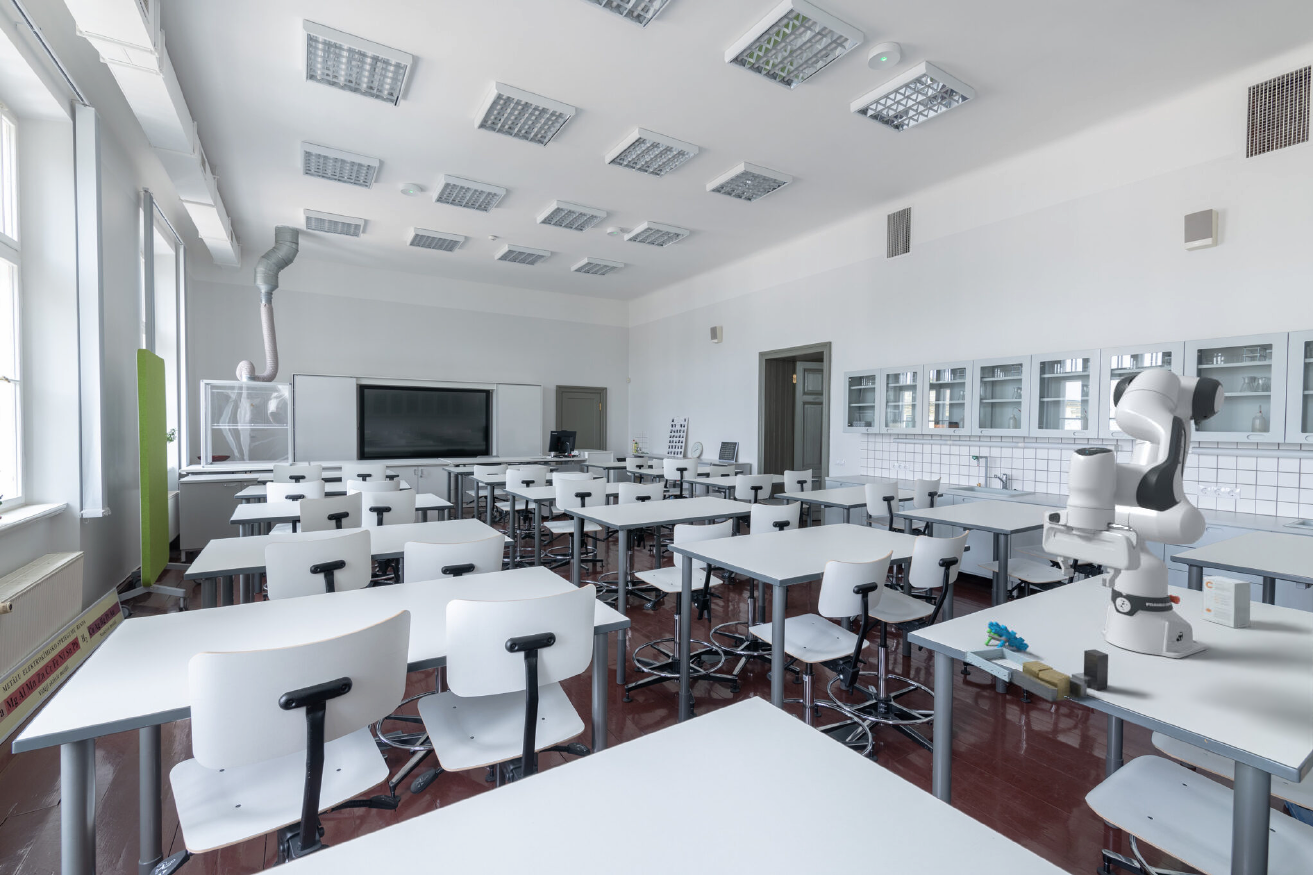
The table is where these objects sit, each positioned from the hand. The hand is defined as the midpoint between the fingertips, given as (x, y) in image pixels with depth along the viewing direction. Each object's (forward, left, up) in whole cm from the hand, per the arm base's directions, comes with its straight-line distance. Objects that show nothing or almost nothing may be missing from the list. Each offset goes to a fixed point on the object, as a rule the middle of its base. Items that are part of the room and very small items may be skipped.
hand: (1087, 581), depth 131 cm
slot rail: (+11, +1, -23) cm, 26 cm away
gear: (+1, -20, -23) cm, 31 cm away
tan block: (+11, -2, -23) cm, 25 cm away
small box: (-80, -21, -23) cm, 86 cm away
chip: (+12, +2, -23) cm, 26 cm away
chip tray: (+11, -11, -23) cm, 28 cm away
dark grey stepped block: (0, +3, -23) cm, 23 cm away
